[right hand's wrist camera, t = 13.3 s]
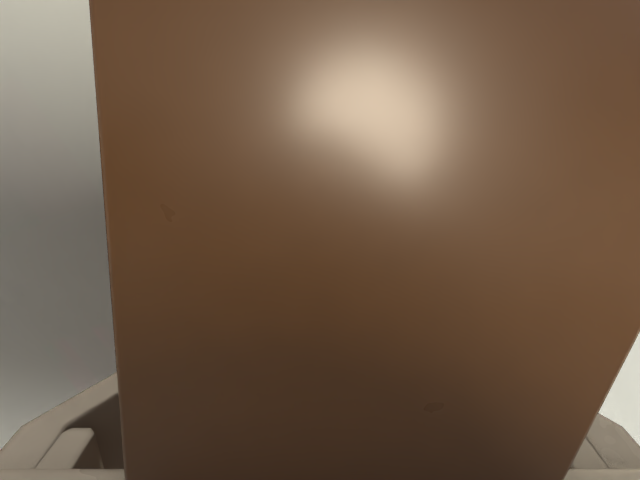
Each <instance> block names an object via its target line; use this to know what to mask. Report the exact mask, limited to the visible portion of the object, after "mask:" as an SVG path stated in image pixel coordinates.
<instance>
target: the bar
mask: <svg viewBox="0 0 640 480" xmlns="http://www.w3.org/2000/svg"><path fill="white" fill-rule="evenodd" d="M89 6H90V20H91V33H92V47H93V60H94V73H95V87H96V100H97V114H98V127H99V140H100V154H101V167H102V181H103V194H104V208H105V221H106V234H107V248H108V261H109V275H110V288H111V302H112V315H113V328H114V342H115V355H116V369H117V382H118V396H119V409H120V422H121V436H122V449H123V463H124V476H125V480H564V478H565V476H566V474H567V473H568V471H569V469H570V467H571V465H572V463H573V461H574V459H575V457H576V455H577V453H578V451H579V449H580V447H581V445H582V443H583V441H584V439H585V437H586V435H587V433H588V432H589V430H590V428H591V426H592V424H593V422H594V420H595V418H596V416H597V414H598V412H599V410H600V408H601V406H602V404H603V402H604V400H605V398H606V396H607V394H608V393H609V391H610V389H611V387H612V385H613V383H614V381H615V379H616V377H617V375H618V373H619V371H620V369H621V367H622V365H623V363H624V361H625V359H626V357H627V355H628V354H629V352H630V350H631V348H632V346H633V344H634V342H635V340H636V338H637V336H638V334H639V332H640V0H89Z"/></svg>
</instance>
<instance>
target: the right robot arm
mask: <svg viewBox="0 0 640 480" xmlns="http://www.w3.org/2000/svg"><path fill="white" fill-rule="evenodd" d="M0 480H125V476H124V463H123V449H122V436H121V422H120V409H119V396H118V382H117V372H116V373H114V374H113V375H111V376H109V377H107V378H106V379H104V380H102V381H100V382H98V383H97V384H95V385H93V386H91V387H90V388H88V389H86V390H84V391H83V392H81V393H79V394H77V395H76V396H74V397H72V398H70V399H69V400H67V401H65V402H63V403H62V404H60V405H58V406H56V407H54V408H53V409H51V410H49V411H47V412H46V413H44V414H42V415H40V416H39V417H37V418H35V419H33V420H32V421H30V422H28V423H26V424H25V425H23V426H21V427H20V429H19V430H18V431H17V432H16V433H15V434H14V435H13V437H12V438H11V439H10V440H9V441H8V442H7V443H6V445H5V446H4V447H3V448H2V449H1V450H0ZM564 480H640V446H639V445H638V444H637V443H636V442H635V440H634V439H633V438H632V437H631V436H630V435H629V434H628V432H627V431H626V430H625V429H624V428H623V427H622V426H620V425H618V424H617V423H615V422H613V421H611V420H610V419H608V418H606V417H604V416H602V415H601V414H599V413H598V414H597V416H596V418H595V420H594V422H593V424H592V426H591V428H590V430H589V432H588V433H587V435H586V437H585V439H584V441H583V443H582V445H581V447H580V449H579V451H578V453H577V455H576V457H575V459H574V461H573V463H572V465H571V467H570V469H569V471H568V473H567V474H566V476H565V478H564Z"/></svg>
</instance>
